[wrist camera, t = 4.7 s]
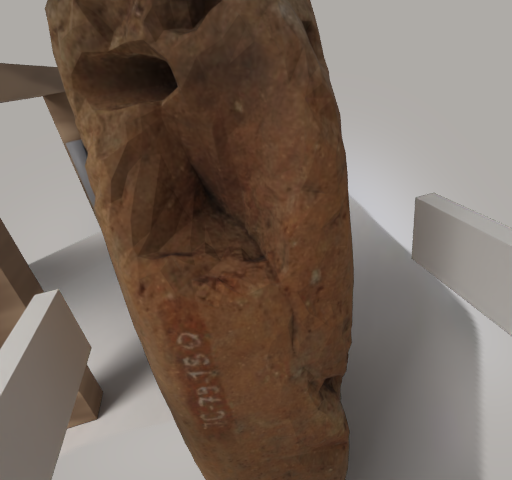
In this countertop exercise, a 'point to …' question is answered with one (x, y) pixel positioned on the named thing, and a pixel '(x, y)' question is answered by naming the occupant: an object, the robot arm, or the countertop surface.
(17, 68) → the door frame
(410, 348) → the countertop surface
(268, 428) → the brown elongated rounded part
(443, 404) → the countertop surface
